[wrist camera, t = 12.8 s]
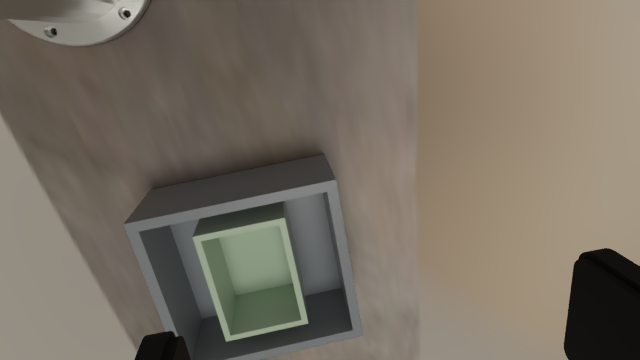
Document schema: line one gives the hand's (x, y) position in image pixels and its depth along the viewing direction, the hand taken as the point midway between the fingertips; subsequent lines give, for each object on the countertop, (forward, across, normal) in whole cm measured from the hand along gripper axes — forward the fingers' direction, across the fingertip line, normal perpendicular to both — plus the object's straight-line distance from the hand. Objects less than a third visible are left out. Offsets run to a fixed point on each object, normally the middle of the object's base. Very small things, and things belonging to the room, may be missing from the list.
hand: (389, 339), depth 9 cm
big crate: (+27, +6, +11) cm, 30 cm away
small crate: (+26, +6, +11) cm, 29 cm away
